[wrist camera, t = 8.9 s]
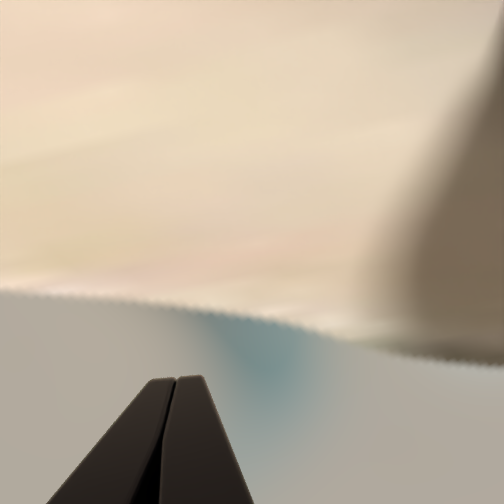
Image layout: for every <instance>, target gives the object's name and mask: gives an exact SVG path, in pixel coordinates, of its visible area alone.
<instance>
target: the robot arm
mask: <svg viewBox="0 0 504 504" xmlns="http://www.w3.org/2000/svg"><path fill="white" fill-rule="evenodd" d="M46 504H254V502H253V500H252V497H251V495H250V492H249V490H248V487H247V485H246V482H245V480H244V477H243V475H242V472H241V470H240V467H239V465H238V462H237V460H236V457H235V454H234V452H233V449H232V447H231V444H230V442H229V440H228V437H227V434H226V432H225V429H224V427H223V424H222V422H221V419H220V417H219V414H218V412H217V409H216V406H215V404H214V402H213V399H212V396H211V394H210V391H209V389H208V386H207V384H206V381H205V379H204V377H203V376H202V375H190V376H181V377H179V378H178V379H175V378H174V377H168V378H156V379H152V380H150V381H149V382H148V383H147V384H146V385H145V386H144V387H143V389H142V390H141V391H140V392H139V393H138V394H137V396H136V397H135V398H134V399H133V400H132V402H131V403H130V404H129V405H128V407H127V408H126V409H125V410H124V411H123V412H122V414H121V415H120V416H119V417H118V419H117V420H116V421H115V422H114V423H113V425H112V426H111V427H110V428H109V429H108V430H107V432H106V433H105V434H104V435H103V436H102V438H101V439H100V440H99V441H98V442H97V444H96V445H95V446H94V447H93V448H92V450H91V451H90V452H89V453H88V454H87V456H86V457H85V458H84V459H83V460H82V462H81V463H80V464H79V465H78V466H77V468H76V469H75V470H74V471H73V472H72V474H71V475H70V476H69V477H68V478H67V480H66V481H65V482H64V483H63V484H62V485H61V487H60V488H59V489H58V491H57V492H56V493H55V494H54V495H53V496H52V497H51V499H50V500H49V501H48V502H47V503H46Z"/></svg>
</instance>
